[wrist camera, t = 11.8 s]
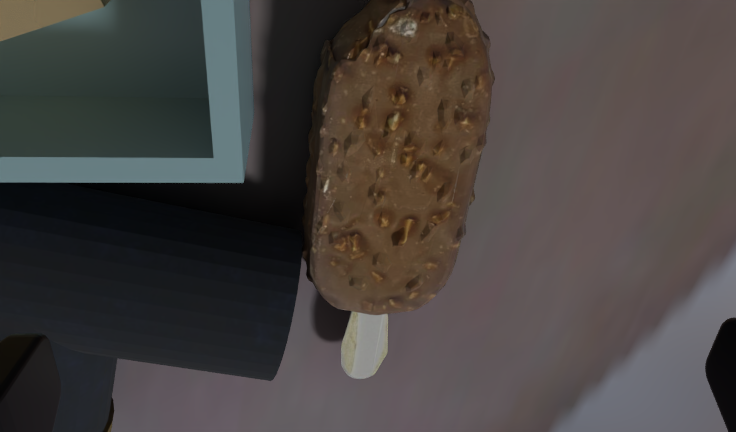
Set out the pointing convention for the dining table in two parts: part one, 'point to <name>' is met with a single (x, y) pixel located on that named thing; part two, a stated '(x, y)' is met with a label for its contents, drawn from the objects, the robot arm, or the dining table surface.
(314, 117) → the ice cream bar
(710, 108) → the dining table surface
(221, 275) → the pipe connector
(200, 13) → the bin
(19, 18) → the gold trophy
